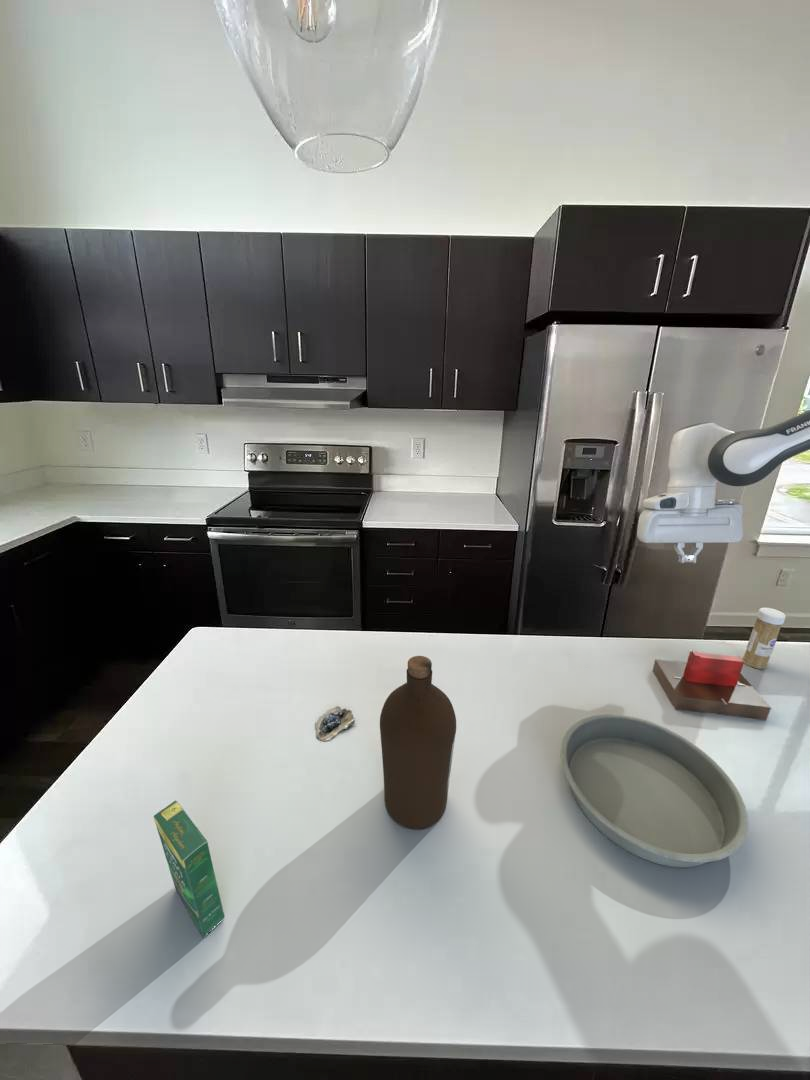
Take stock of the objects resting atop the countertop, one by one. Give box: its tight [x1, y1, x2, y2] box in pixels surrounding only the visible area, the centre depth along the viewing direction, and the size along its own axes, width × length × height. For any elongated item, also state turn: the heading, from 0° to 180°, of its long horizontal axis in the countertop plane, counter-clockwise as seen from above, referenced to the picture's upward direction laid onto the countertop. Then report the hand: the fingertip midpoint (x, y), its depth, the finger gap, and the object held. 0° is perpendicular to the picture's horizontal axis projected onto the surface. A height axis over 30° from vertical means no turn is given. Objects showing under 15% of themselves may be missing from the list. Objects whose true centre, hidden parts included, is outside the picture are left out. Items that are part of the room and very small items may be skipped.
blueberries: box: [314, 705, 356, 742], centre depth 78 cm, size 7×8×2 cm
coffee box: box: [153, 800, 226, 938], centre depth 49 cm, size 8×3×13 cm, turn 49°
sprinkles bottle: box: [742, 607, 787, 670], centre depth 95 cm, size 5×5×13 cm
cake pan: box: [560, 713, 749, 868], centre depth 65 cm, size 25×25×4 cm
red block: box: [683, 650, 745, 687], centre depth 85 cm, size 9×2×6 cm, turn 80°
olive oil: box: [379, 655, 457, 830], centre depth 60 cm, size 11×11×25 cm
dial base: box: [651, 659, 772, 721], centre depth 87 cm, size 16×13×3 cm
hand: (686, 562), depth 95 cm, fingers closed
